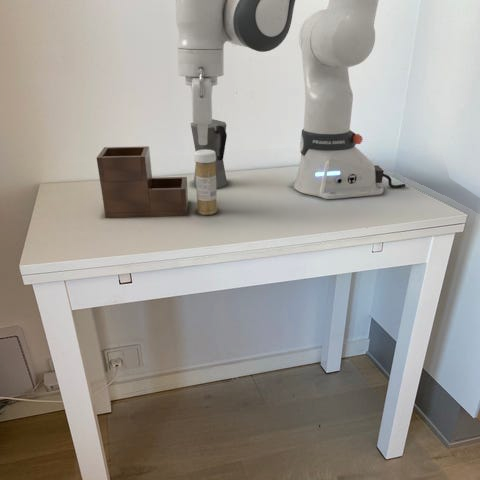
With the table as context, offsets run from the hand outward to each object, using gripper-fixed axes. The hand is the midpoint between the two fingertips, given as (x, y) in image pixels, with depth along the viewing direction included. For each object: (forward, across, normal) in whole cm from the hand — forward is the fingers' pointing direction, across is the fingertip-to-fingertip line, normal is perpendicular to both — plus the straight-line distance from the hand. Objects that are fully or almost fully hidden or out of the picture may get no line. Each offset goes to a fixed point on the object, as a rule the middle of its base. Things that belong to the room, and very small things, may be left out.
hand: (202, 139), depth 104 cm
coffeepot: (+16, +21, -2) cm, 27 cm away
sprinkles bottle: (+16, 0, -1) cm, 16 cm away
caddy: (+16, +3, +13) cm, 21 cm away
